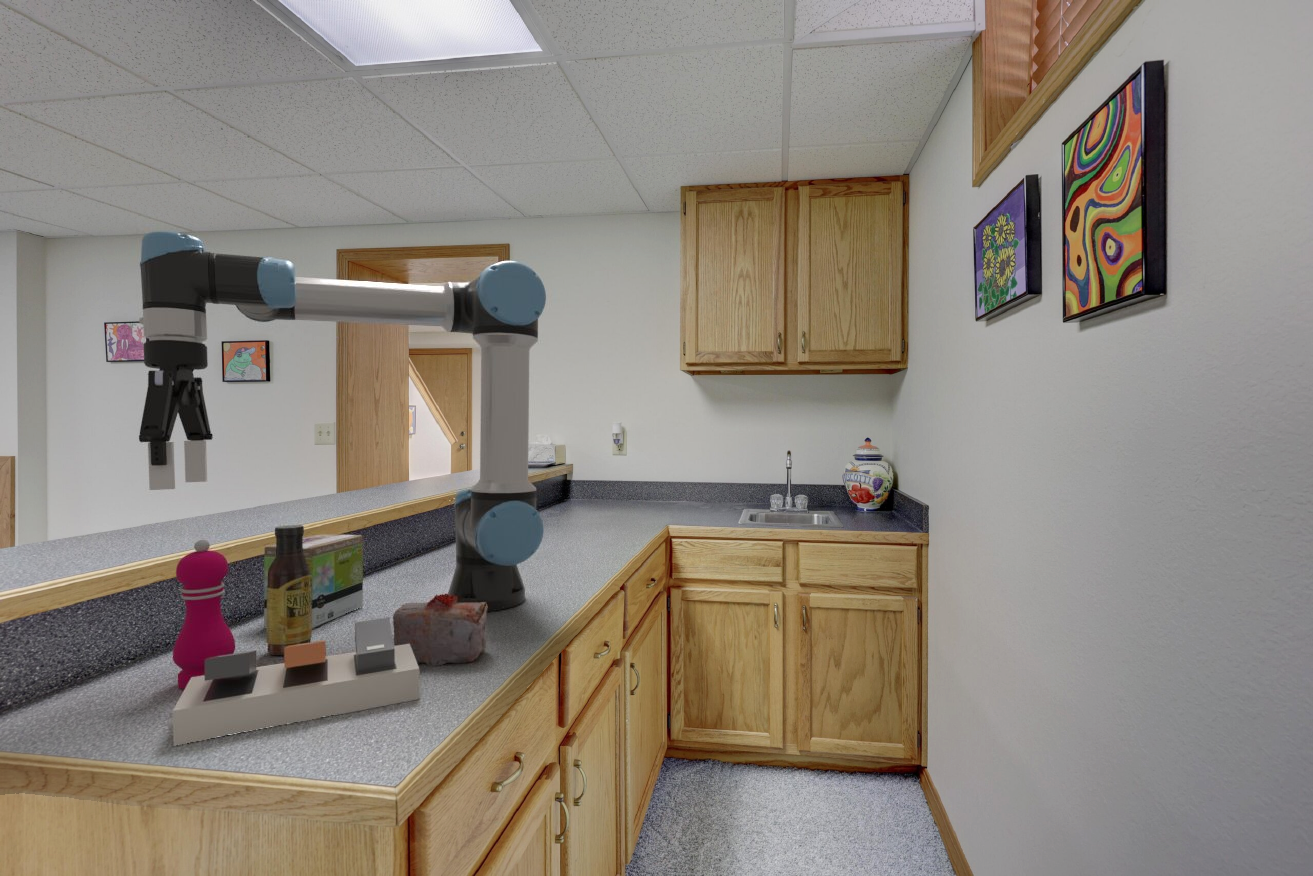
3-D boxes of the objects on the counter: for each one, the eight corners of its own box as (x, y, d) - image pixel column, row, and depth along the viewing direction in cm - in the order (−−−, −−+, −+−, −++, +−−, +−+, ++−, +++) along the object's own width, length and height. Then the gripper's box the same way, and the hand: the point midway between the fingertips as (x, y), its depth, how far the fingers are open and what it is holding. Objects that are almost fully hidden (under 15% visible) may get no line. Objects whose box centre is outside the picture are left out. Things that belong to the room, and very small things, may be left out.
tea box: (313, 631, 113) (311, 547, 113) (262, 629, 115) (260, 546, 115) (365, 607, 128) (363, 532, 128) (319, 605, 130) (317, 532, 130)
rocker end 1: (256, 669, 83) (256, 649, 84) (249, 673, 76) (249, 652, 77) (215, 676, 81) (215, 655, 82) (204, 680, 74) (204, 658, 75)
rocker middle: (325, 658, 87) (325, 639, 87) (325, 661, 80) (324, 641, 81) (288, 664, 85) (288, 645, 86) (284, 668, 78) (284, 647, 79)
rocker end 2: (389, 632, 91) (389, 617, 90) (394, 665, 84) (394, 648, 84) (354, 637, 89) (354, 622, 89) (357, 671, 82) (357, 654, 82)
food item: (493, 649, 103) (492, 587, 103) (482, 667, 95) (480, 600, 95) (406, 651, 102) (404, 589, 102) (387, 670, 94) (386, 603, 94)
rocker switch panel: (410, 671, 94) (409, 643, 94) (419, 699, 84) (419, 668, 84) (192, 708, 82) (191, 677, 82) (173, 746, 72) (172, 710, 72)
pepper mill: (243, 680, 91) (239, 539, 91) (180, 696, 86) (176, 546, 85) (227, 668, 96) (224, 533, 96) (167, 682, 91) (163, 540, 90)
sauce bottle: (291, 658, 100) (288, 530, 99) (257, 656, 101) (254, 529, 100) (322, 644, 106) (319, 523, 106) (289, 642, 107) (286, 523, 107)
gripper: (177, 350, 106) (181, 480, 106) (103, 328, 82) (109, 494, 82) (230, 351, 108) (234, 478, 108) (174, 329, 84) (179, 491, 85)
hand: (180, 485), depth 95 cm, fingers open, 13 cm apart
